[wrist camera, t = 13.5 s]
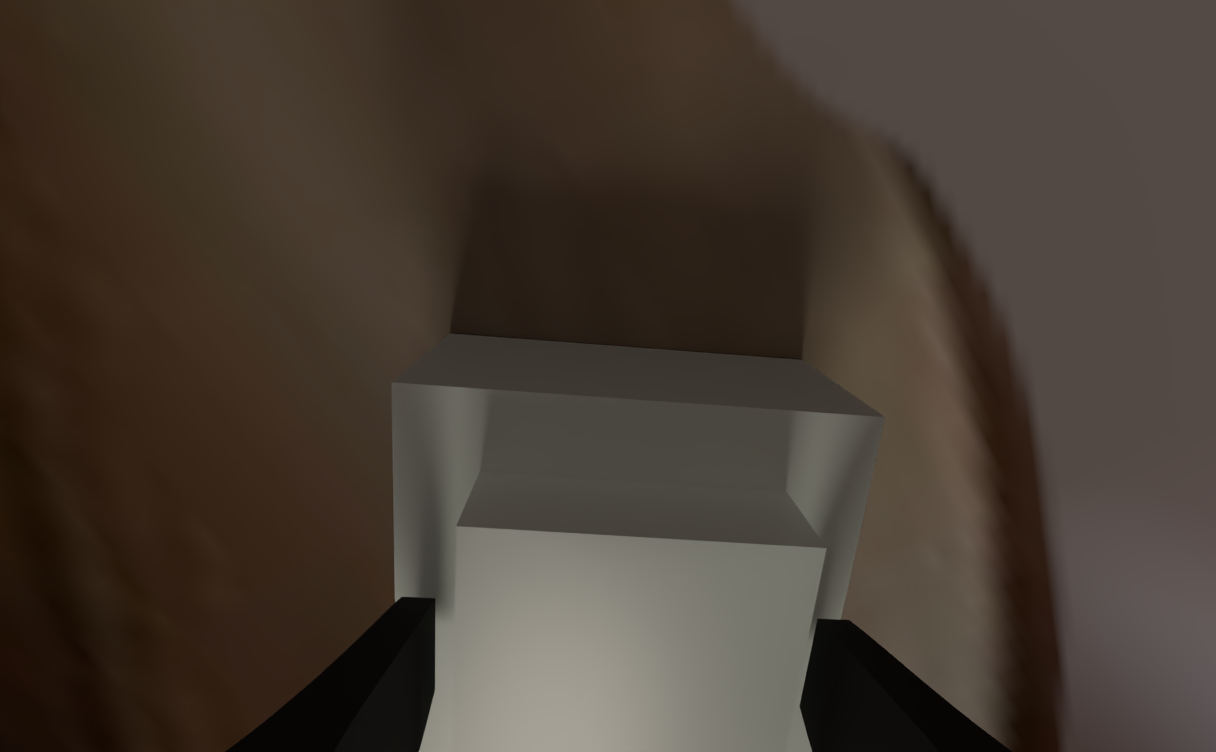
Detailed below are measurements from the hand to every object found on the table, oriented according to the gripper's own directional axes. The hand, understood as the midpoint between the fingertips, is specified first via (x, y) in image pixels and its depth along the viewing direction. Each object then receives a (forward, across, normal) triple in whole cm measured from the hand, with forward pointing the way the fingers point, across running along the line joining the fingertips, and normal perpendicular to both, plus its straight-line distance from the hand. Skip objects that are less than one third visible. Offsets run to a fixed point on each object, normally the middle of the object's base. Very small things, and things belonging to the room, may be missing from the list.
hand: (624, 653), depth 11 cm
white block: (+5, 0, 0) cm, 5 cm away
